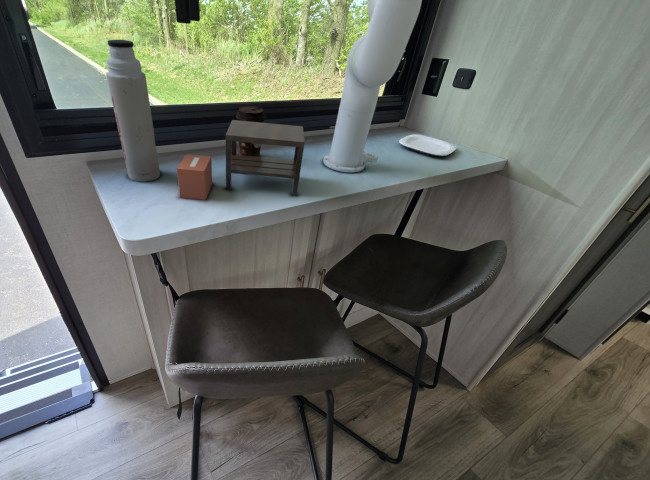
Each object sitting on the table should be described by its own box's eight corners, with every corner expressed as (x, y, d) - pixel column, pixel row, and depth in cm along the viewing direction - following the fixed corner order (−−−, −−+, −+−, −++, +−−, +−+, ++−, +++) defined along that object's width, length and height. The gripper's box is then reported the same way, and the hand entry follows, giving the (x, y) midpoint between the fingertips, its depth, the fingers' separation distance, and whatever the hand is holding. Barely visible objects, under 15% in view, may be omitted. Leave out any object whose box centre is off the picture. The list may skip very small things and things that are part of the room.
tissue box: (212, 183, 84) (211, 156, 79) (205, 200, 77) (204, 170, 72) (188, 181, 84) (185, 153, 79) (180, 197, 77) (176, 168, 72)
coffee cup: (265, 152, 102) (268, 107, 94) (262, 162, 96) (265, 114, 87) (237, 150, 103) (238, 103, 94) (233, 159, 97) (233, 111, 88)
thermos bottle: (125, 181, 81) (93, 41, 62) (131, 168, 87) (104, 36, 68) (157, 182, 82) (136, 44, 63) (162, 169, 88) (143, 39, 69)
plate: (459, 150, 118) (461, 145, 117) (442, 162, 107) (444, 157, 106) (412, 136, 126) (413, 132, 125) (392, 146, 116) (393, 141, 114)
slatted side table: (295, 176, 91) (302, 126, 82) (296, 195, 82) (304, 142, 73) (232, 170, 91) (232, 119, 82) (226, 189, 82) (225, 134, 73)
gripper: (190, -94, 60) (196, 25, 71) (208, -78, 72) (211, 21, 84) (149, -98, 60) (162, 22, 71) (175, -82, 72) (182, 18, 84)
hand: (188, 21), depth 78 cm, fingers open, 9 cm apart
